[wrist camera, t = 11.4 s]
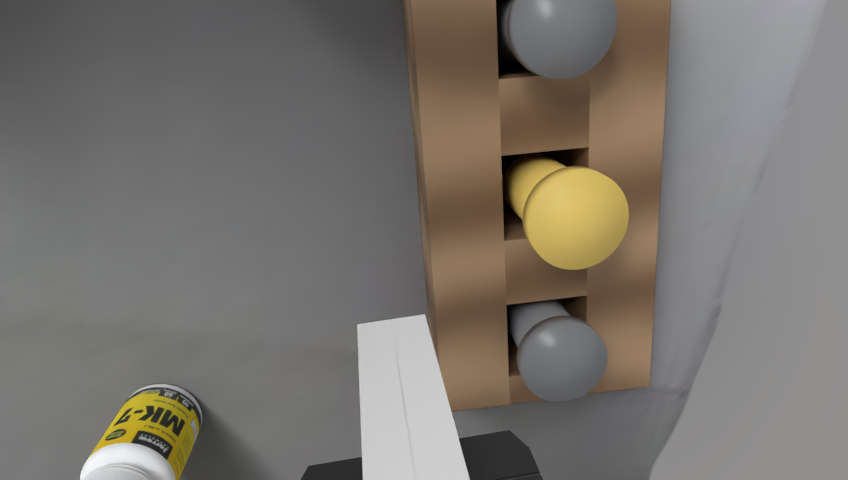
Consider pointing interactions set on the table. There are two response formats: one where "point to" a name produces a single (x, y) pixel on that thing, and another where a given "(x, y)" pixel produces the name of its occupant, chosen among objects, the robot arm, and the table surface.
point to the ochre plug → (566, 210)
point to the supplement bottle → (147, 437)
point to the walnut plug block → (503, 231)
